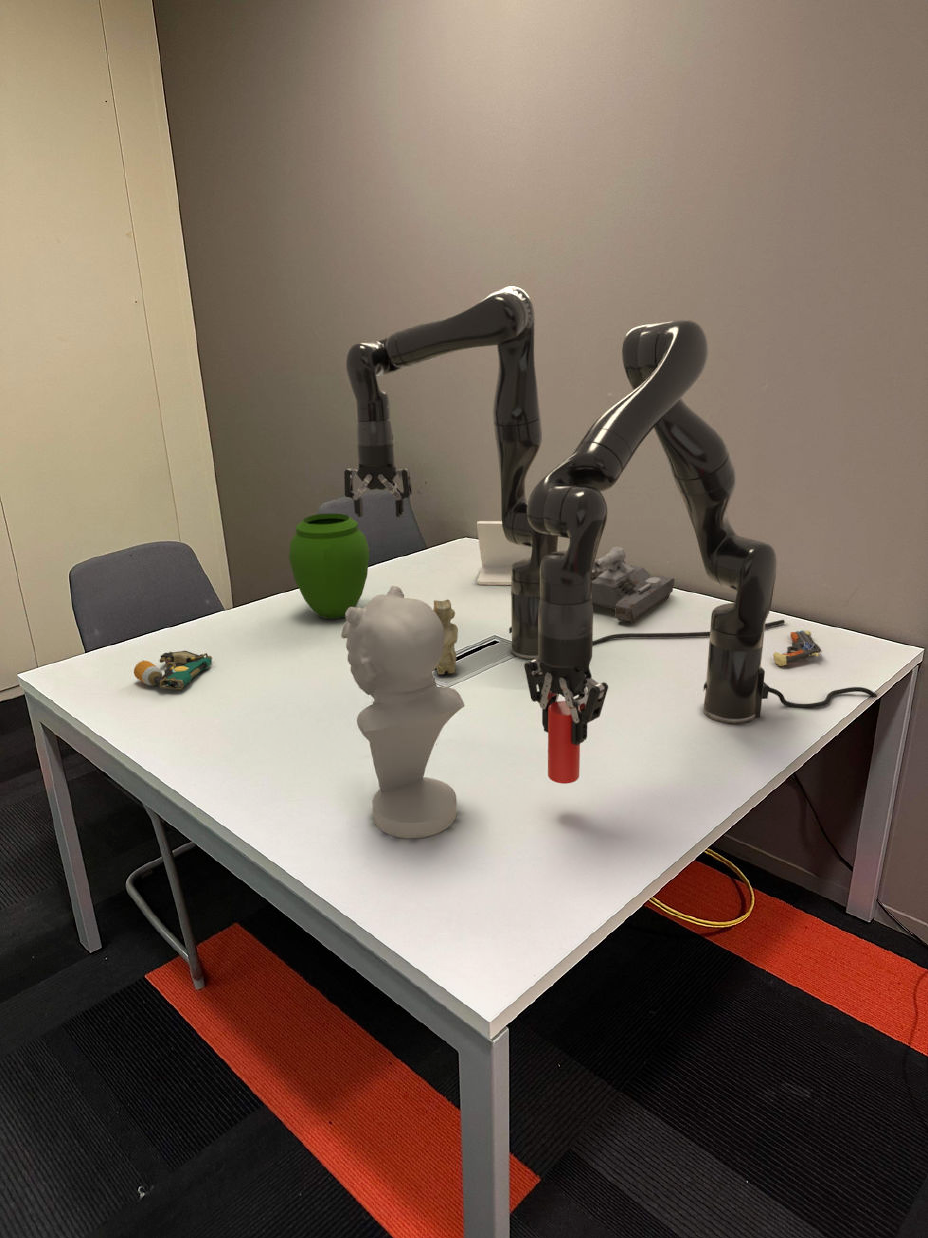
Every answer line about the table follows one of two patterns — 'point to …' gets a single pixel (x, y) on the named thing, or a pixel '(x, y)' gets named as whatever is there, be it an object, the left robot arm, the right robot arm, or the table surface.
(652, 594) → the toy
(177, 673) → the spray gun
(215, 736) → the table surface
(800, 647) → the toy gun
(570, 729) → the red cylinder
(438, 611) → the sculpture
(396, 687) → the bust sculpture
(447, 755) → the table surface
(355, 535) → the vase
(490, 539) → the tablet stand
